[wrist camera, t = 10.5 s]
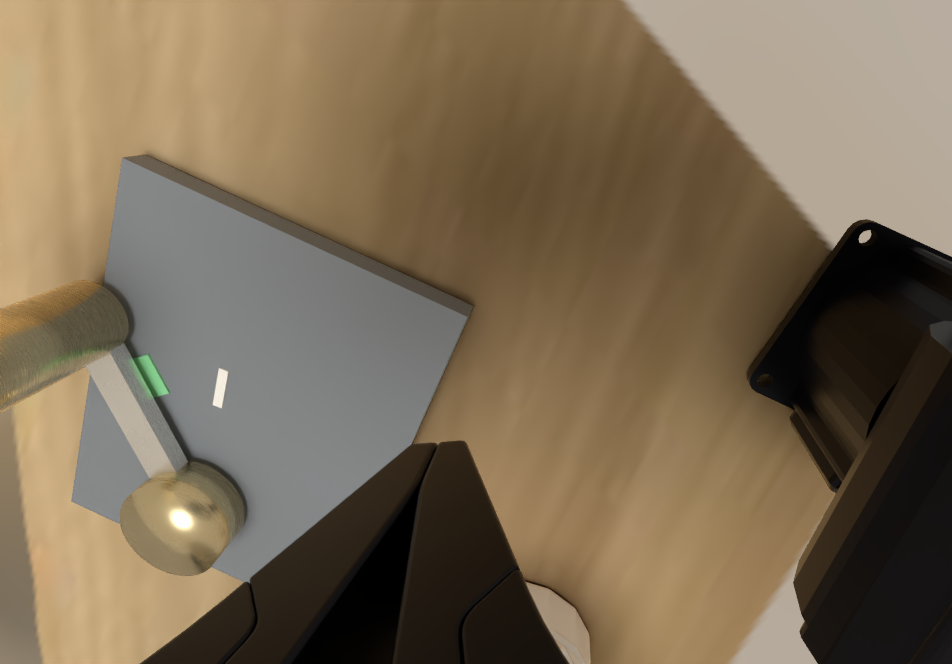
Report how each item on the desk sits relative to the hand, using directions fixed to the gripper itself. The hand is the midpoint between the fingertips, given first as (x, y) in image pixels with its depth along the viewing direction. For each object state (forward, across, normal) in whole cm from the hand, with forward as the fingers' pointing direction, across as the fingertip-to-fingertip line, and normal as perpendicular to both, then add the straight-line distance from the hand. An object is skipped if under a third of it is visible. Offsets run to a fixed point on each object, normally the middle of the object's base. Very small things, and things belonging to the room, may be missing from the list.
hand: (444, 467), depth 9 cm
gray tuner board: (+14, +11, +6) cm, 19 cm away
